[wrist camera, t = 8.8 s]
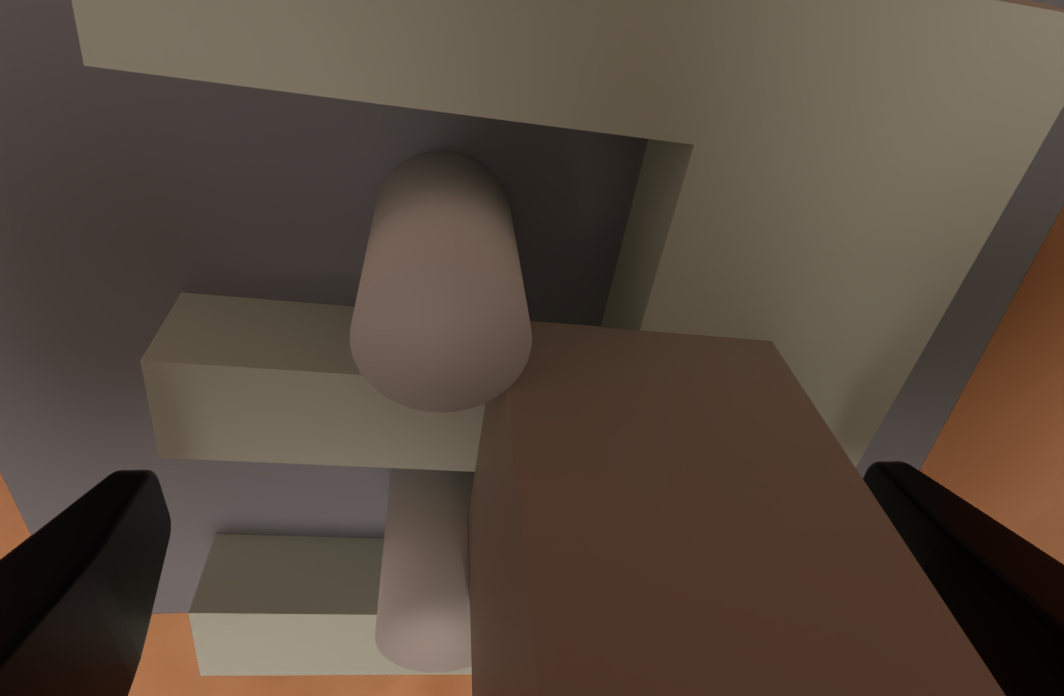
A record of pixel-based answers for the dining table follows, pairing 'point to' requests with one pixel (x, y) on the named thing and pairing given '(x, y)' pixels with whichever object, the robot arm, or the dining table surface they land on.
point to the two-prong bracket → (630, 336)
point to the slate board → (334, 292)
